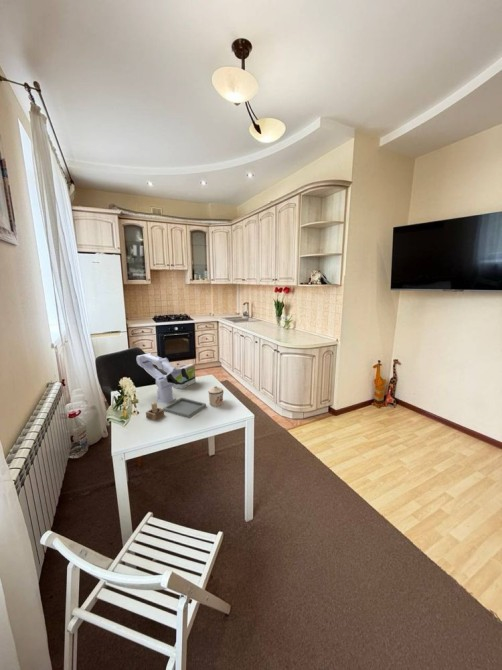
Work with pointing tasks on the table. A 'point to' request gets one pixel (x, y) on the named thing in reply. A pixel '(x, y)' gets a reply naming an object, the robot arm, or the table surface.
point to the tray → (184, 407)
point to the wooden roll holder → (156, 415)
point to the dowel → (154, 407)
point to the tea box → (183, 381)
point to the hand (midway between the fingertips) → (182, 380)
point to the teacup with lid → (215, 396)
